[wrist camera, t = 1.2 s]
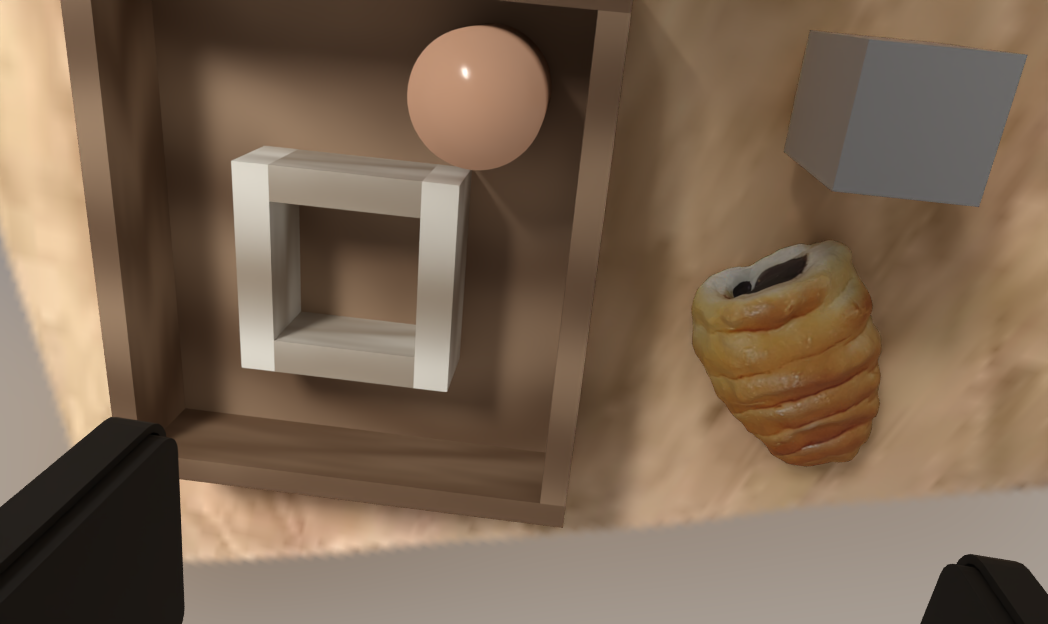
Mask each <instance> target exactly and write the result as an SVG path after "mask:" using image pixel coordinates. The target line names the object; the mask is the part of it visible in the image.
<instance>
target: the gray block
mask: <svg viewBox="0 0 1048 624" xmlns="http://www.w3.org/2000/svg"><path fill="white" fill-rule="evenodd" d="M1026 58H1027V55H1025V54H1017V53H1010V52H1002V51H995V50H987V49H979V48H972V47H964V46H957V45H949V44H942V43H934V42H924V41H914V40H904V39H894V38H884V37H874V36H863V35H853V34H843V33H833V32H823V31H813V30H810V32H809V37H808V42H807V45H806V49H805V54H804V58H803V63H802V68H801V72H800V77H799V82H798V86H797V91H796V96H795V100H794V105H793V109H792V114H791V119H790V123H789V128H788V134H787V139H786V143H785V148H784V152H785V153H786V154H787V155H788V156H790V157H791V158H792V159H793V160H794V161H796V162H797V163H798V164H799V165H801V166H802V167H803V168H804V169H806V170H807V171H808V172H809V173H810V174H812V175H813V176H814V177H815V178H817V179H818V180H819V181H820V182H821V183H823V184H824V185H825V186H826V187H828V188H829V189H830V190H831V191H835V192H844V193H854V194H863V195H872V196H882V197H891V198H900V199H910V200H919V201H928V202H938V203H947V204H956V205H966V206H975V207H979V205H980V202H981V199H982V196H983V193H984V190H985V186H986V183H987V180H988V177H989V174H990V171H991V168H992V165H993V161H994V158H995V155H996V152H997V149H998V146H999V143H1000V139H1001V136H1002V133H1003V130H1004V127H1005V124H1006V121H1007V118H1008V114H1009V111H1010V108H1011V105H1012V102H1013V99H1014V96H1015V93H1016V89H1017V86H1018V83H1019V80H1020V77H1021V74H1022V71H1023V67H1024V64H1025V61H1026Z"/></svg>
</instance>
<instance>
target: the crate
mask: <svg viewBox="0 0 1048 624" xmlns="http://www.w3.org/2000/svg"><path fill="white" fill-rule="evenodd" d="M632 4H633V0H61V8H62V16H63V24H64V32H65V40H66V48H67V56H68V64H69V72H70V81H71V89H72V97H73V105H74V113H75V121H76V129H77V137H78V145H79V153H80V161H81V169H82V177H83V185H84V193H85V201H86V210H87V218H88V226H89V234H90V242H91V250H92V258H93V266H94V274H95V282H96V290H97V298H98V306H99V314H100V322H101V330H102V339H103V347H104V355H105V363H106V371H107V379H108V387H109V395H110V403H111V411H112V417H120V418H126V419H133V420H139V421H145V422H151V423H158V424H160V425H161V426H163V428H164V430H165V432H166V437H169V438H173V439H174V440H175V441H176V443H177V446H178V460H179V479H183V480H191V481H199V482H207V483H215V484H222V485H230V486H238V487H246V488H254V489H262V490H270V491H278V492H285V493H293V494H301V495H309V496H317V497H325V498H333V499H341V500H348V501H356V502H364V503H372V504H380V505H388V506H396V507H404V508H411V509H419V510H427V511H435V512H443V513H451V514H459V515H467V516H474V517H482V518H490V519H498V520H506V521H514V522H522V523H530V524H537V525H545V526H553V527H561V528H563V522H564V514H565V507H566V499H567V492H568V484H569V477H570V469H571V462H572V454H573V447H574V439H575V432H576V424H577V417H578V409H579V402H580V394H581V387H582V379H583V372H584V364H585V357H586V349H587V342H588V334H589V327H590V319H591V312H592V304H593V297H594V289H595V282H596V274H597V267H598V259H599V252H600V244H601V237H602V229H603V222H604V214H605V207H606V199H607V192H608V184H609V177H610V169H611V162H612V154H613V147H614V139H615V132H616V124H617V117H618V109H619V102H620V94H621V87H622V79H623V72H624V64H625V57H626V49H627V42H628V34H629V27H630V19H631V12H632ZM484 23H497V24H503V25H506V26H510V27H512V28H515V29H517V30H519V31H520V32H522V33H523V34H525V35H526V36H528V37H529V38H530V39H531V40H532V41H533V42H534V43H535V44H536V45H537V46H538V48H539V49H540V51H541V52H542V54H543V56H544V58H545V60H546V62H547V64H548V67H549V71H550V75H551V83H552V91H551V99H550V104H549V107H548V110H547V113H546V115H545V118H544V120H543V123H542V125H541V127H540V130H539V132H538V134H537V136H536V138H535V139H534V141H533V142H532V144H531V145H530V146H529V147H528V149H527V150H526V151H525V152H523V153H522V154H521V155H520V156H519V157H517V158H516V159H515V160H513V161H511V162H510V163H508V164H506V165H503V166H500V167H498V168H494V169H489V170H469V169H463V168H460V167H456V166H453V165H451V164H449V163H447V162H445V161H444V160H442V159H440V158H439V157H437V156H436V155H435V154H434V153H432V152H431V151H430V150H429V149H428V148H427V147H426V146H425V144H424V143H423V142H422V140H421V139H420V138H419V136H418V134H417V132H416V131H415V129H414V126H413V124H412V121H411V118H410V115H409V110H408V104H407V90H408V83H409V78H410V74H411V72H412V69H413V66H414V65H415V63H416V61H417V59H418V57H419V56H420V55H421V53H422V52H423V51H424V49H425V48H426V47H427V46H428V45H429V44H430V43H432V42H433V41H434V40H435V39H437V38H438V37H440V36H442V35H443V34H445V33H448V32H450V31H452V30H456V29H460V28H464V27H468V26H473V25H477V24H484Z"/></svg>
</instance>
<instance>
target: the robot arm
mask: <svg viewBox="0 0 1048 624" xmlns="http://www.w3.org/2000/svg"><path fill="white" fill-rule="evenodd" d="M183 585H184V584H183V559H182V534H181V509H180V485H179V460H178V446H177V443H176V441H175V440H174V439H173V438H169V437H166V432H165V430H164V428H163V426H161V425H160V424H158V423H151V422H145V421H139V420H133V419H126V418H120V417H110V418H108V419H107V420H105V421H104V422H102V423H101V424H100V425H99V426H98V427H96V428H95V429H94V430H93V431H92V432H90V433H89V434H88V435H87V436H86V437H84V438H83V439H82V440H81V441H79V442H78V443H77V444H76V445H75V446H73V447H72V448H71V449H70V450H69V451H67V452H66V453H65V454H64V455H63V456H61V457H60V458H59V459H58V460H57V461H56V462H54V463H53V464H52V465H51V466H49V467H48V468H47V469H46V470H45V471H43V472H42V473H41V474H40V475H38V476H37V477H36V478H35V479H34V480H33V481H31V482H30V483H29V484H28V485H26V486H25V487H24V488H23V489H22V490H20V491H19V492H18V493H17V494H16V495H14V496H13V497H12V498H11V499H10V500H8V501H7V502H6V503H5V504H4V505H2V506H1V507H0V624H182V621H183V616H184V586H183ZM921 624H1048V594H1047V593H1046V591H1045V590H1044V589H1043V587H1042V586H1041V585H1040V584H1039V582H1038V581H1037V580H1036V579H1035V577H1034V576H1033V575H1032V573H1031V572H1030V571H1029V569H1027V568H1026V567H1025V566H1024V565H1023V564H1021V563H1018V562H1016V561H1010V560H1004V559H998V558H991V557H985V556H979V555H973V554H968V555H964V556H963V557H962V558H960V559H959V561H958V562H957V564H949V565H947V566H946V567H944V569H943V570H942V572H941V574H940V576H939V579H938V581H937V584H936V586H935V589H934V591H933V594H932V596H931V599H930V601H929V604H928V606H927V609H926V611H925V614H924V616H923V619H922V621H921Z"/></svg>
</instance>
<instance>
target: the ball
mask: <svg viewBox="0 0 1048 624" xmlns="http://www.w3.org/2000/svg"><path fill="white" fill-rule="evenodd" d="M551 91H552V83H551V75H550V71H549V67H548V64H547V62H546V60H545V58H544V56H543V54H542V52H541V51H540V49H539V48H538V46H537V45H536V44H535V43H534V42H533V41H532V40H531V39H530V38H529V37H528V36H526V35H525V34H523V33H522V32H520V31H519V30H517V29H515V28H512V27H510V26H506V25H503V24H497V23H484V24H477V25H473V26H468V27H464V28H460V29H456V30H452V31H450V32H448V33H445V34H443V35H442V36H440V37H438V38H437V39H435V40H434V41H433V42H432V43H430V44H429V45H428V46H427V47H426V48H425V49H424V51H423V52H422V53H421V55H420V56H419V57H418V59H417V61H416V63H415V65H414V66H413V69H412V72H411V74H410V78H409V83H408V90H407V104H408V110H409V115H410V118H411V121H412V124H413V126H414V129H415V131H416V132H417V134H418V136H419V138H420V139H421V140H422V142H423V143H424V144H425V146H426V147H427V148H428V149H429V150H430V151H431V152H432V153H434V154H435V155H436V156H437V157H439V158H440V159H442V160H444V161H445V162H447V163H449V164H451V165H453V166H456V167H460V168H463V169H469V170H489V169H494V168H498V167H500V166H503V165H506V164H508V163H510V162H511V161H513V160H515V159H516V158H517V157H519V156H520V155H521V154H522V153H523V152H525V151H526V150H527V149H528V147H529V146H530V145H531V144H532V142H533V141H534V139H535V138H536V136H537V134H538V132H539V130H540V127H541V125H542V123H543V120H544V118H545V115H546V113H547V110H548V107H549V104H550V99H551Z"/></svg>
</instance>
